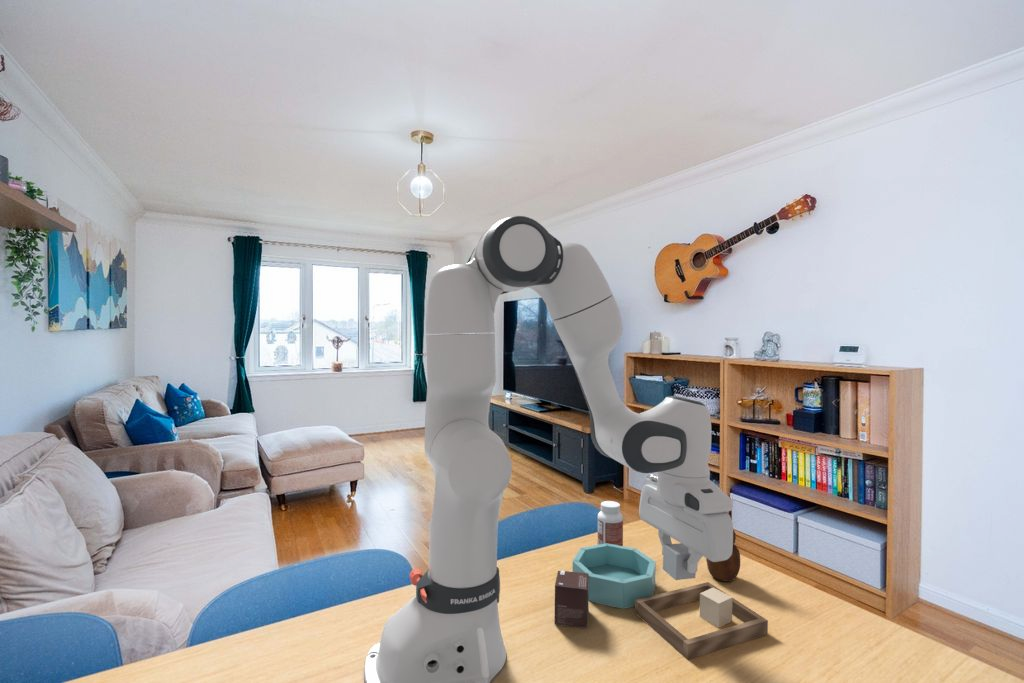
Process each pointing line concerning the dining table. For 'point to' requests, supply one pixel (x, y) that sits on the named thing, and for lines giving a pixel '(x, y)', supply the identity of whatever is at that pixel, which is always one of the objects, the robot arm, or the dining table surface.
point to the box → (571, 599)
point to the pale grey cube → (676, 561)
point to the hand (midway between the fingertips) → (679, 563)
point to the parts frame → (704, 643)
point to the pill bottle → (610, 524)
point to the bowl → (616, 574)
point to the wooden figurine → (726, 564)
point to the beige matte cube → (716, 607)
